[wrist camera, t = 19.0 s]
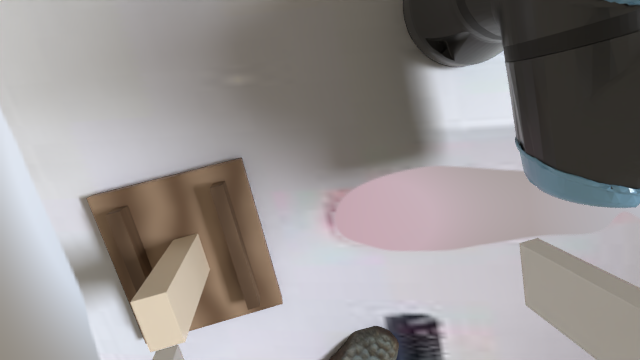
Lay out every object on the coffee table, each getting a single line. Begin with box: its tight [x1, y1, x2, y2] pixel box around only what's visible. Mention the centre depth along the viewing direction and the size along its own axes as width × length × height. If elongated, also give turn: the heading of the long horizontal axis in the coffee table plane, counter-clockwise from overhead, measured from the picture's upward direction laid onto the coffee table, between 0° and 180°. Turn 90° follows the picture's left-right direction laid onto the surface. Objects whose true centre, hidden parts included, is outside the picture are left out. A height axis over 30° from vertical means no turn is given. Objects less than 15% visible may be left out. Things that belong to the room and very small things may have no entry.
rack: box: [87, 158, 283, 344], centre depth 43 cm, size 18×20×4 cm
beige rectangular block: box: [130, 233, 210, 352], centre depth 37 cm, size 3×5×14 cm, turn 13°
